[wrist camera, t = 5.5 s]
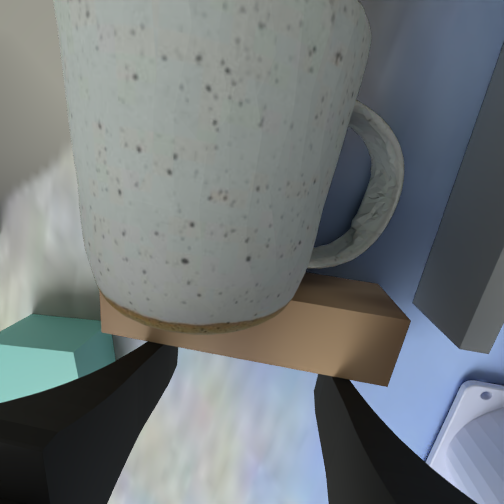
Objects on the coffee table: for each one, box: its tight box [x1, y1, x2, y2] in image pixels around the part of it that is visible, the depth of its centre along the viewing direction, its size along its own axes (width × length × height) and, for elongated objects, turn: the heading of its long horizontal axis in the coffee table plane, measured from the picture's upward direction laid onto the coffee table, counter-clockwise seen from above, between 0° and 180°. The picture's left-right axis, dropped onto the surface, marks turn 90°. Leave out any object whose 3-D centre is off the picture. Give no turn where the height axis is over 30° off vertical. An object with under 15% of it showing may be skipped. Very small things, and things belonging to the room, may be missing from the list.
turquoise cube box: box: [0, 314, 116, 403], centre depth 15 cm, size 5×5×3 cm
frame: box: [413, 44, 504, 354], centre depth 9 cm, size 24×15×4 cm, turn 83°
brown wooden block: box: [99, 272, 411, 387], centre depth 12 cm, size 12×3×4 cm, turn 83°
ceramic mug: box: [53, 0, 404, 335], centre depth 8 cm, size 11×8×8 cm
